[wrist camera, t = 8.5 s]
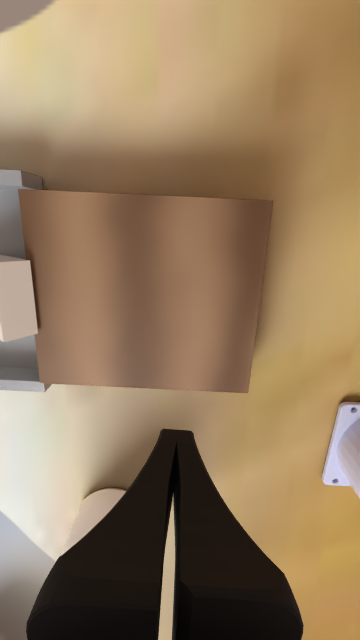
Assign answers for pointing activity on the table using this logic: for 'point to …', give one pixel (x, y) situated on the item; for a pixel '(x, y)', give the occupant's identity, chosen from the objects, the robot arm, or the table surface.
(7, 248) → the tray
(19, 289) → the tile
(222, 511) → the robot arm
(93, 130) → the table surface
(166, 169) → the table surface
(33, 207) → the brown board
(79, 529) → the can
